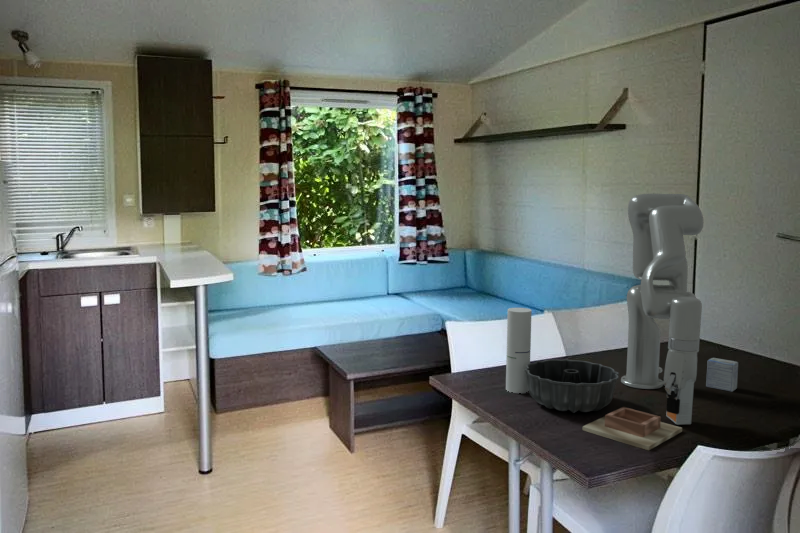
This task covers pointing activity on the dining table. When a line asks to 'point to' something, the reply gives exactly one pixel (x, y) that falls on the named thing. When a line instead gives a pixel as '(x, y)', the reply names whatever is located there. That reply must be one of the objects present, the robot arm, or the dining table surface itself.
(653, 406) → the dining table surface
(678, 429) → the collar board
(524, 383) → the cylindrical container
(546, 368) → the bundt pan
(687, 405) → the skincare box
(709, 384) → the medicine box
